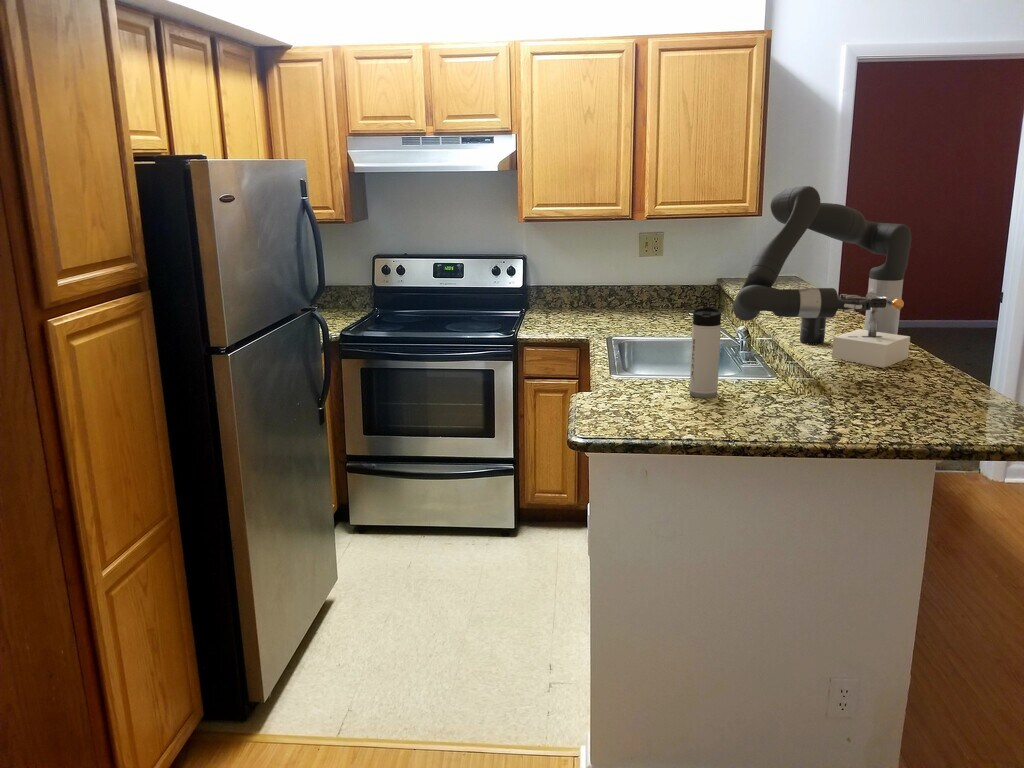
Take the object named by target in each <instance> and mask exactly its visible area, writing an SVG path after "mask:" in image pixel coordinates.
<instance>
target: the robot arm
mask: <svg viewBox="0 0 1024 768" xmlns="http://www.w3.org/2000/svg"><path fill="white" fill-rule="evenodd" d="M770 211H771V214H772V216H773V217H774V218H775V220H776V221H778V222H779V223H781V224H783V225H784V226H782V228H781V229H780V230H779V231H778V232H777V233H776V234H775V235H774V236H773V237H771V239H769V240H768V241H767V243H765V244H764V246H762V248H761V249H760V250H759V252H758V253H757V255H756V256H755V259H754V261H753V263H752V265H751V267H750V269H749V272H748V275H747V278H746V280H745V281H744V283H743V285H742V287H741V289H740V290H739V291H738V293H737V295H736V297H735V299H734V300H733V303H732V312H733V314H734V315H735V317H736V318H737V319H739V320H741V321H745V322H748V321H752V320H754V319H756V318H757V317H758V316H759V314H760V312H771V313H772V314H773V315H774V316H775V317H780V318H826V319H827V318H828V319H829V318H830V319H833V318H834V317H835V316H836V314H837V312H838V310H839V311H842V312H844V313H849V312H852V311H853V312H854V313H861V312H864V311H865V315H864V316H865V318H864V327H863V330H867V331H868V330H869V320H870V310H871V308H879V313H878V323H877V332H881V333H889V334H896V335H898V331H899V321H900V313H901V309H899V310H896V309H894V308H893V307H892V306H888V305H886V302H887V300H886V299H884V298H869V297H866V296H864V295H858V294H847V293H845V294H844V293H841V294H839V295H838V291H837V290H836V289H835V288H834V287H807V288H805V287H804V288H792V289H791V288H788V289H787V288H786V289H785V288H784V289H782V288H781V289H780V288H777V287H773V285H774V284H775V283H776V281H777V279H778V277H779V275H780V273H781V270H782V268H783V267H784V264H786V263H785V262H786V261H787V259H788V257H789V256H790V254H791V252H792V251H793V249H794V248H795V247H796V246H797V244H798V242H799V241H800V240H801V238H802V237H803V235H804V234H805V233H806V231H807V230H810V231H813V232H815V233H818V234H820V235H824V236H827V237H828V238H832V239H834V240H836V241H840V242H843V243H847V244H854V245H856V246H859V247H860V248H863V249H865V250H867V251H868V252H870V253H872V254H875V255H882V256H886V258H885V262H884V263H883V264H881V265H878V266H875V267H871V269H870V270H869V276H868V277H869V278H868V288H867V293H869V292H872V293H876V294H879V295H883V296H886V297H890V298H893V299H897V298H899V299H902V296H903V285H904V278H905V273H906V270H907V267H908V264H909V256H910V250H911V244H912V232H911V228H910V227H909V225H906V224H904V223H891V222H889V223H888V222H875V221H870V220H866V219H865V216H864V215H863V214H862V212H861V211H859V210H857V209H855V208H852V207H849V206H847V205H844V204H839V203H832V202H831V203H829V202H821V195H820V193H819V191H818V189H816V188H815V187H814V186H811V185H805V186H803V185H802V186H797V187H796V186H795V187H791V188H786V189H783V190H780V191H779V192H778V191H777V193H776V194H775V195H773V196H772V198H771V201H770Z"/></svg>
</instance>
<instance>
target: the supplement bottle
mask: <svg viewBox="0 0 1024 768" xmlns="http://www.w3.org/2000/svg"><path fill="white" fill-rule="evenodd" d="M800 318H801V321H800V330H799V331H800V332H799V342H800V341H801V342H800V343H802V342H803V343H802V344H805V343H808V344H807V345H822V344H824V343H825V337H826V327H827V318H802V317H800Z"/></svg>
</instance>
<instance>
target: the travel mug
mask: <svg viewBox="0 0 1024 768" xmlns="http://www.w3.org/2000/svg"><path fill="white" fill-rule="evenodd" d="M721 320H722V311H721V310H720V309H717V308H714V307H713V306H704V307H702V308H701V307H700V308H696V309H695V310H693V311H692V323H691V324H692V327H691V328H692V329H691V330H692V331H691V353H690V373H689V375H690V377H689V394H690V396H692V397H694V398H698V399H712V398H715V397H717V395H718V389H719V387H718V386H719V369H720V349H721V329H722V324H721V323H722V322H721Z"/></svg>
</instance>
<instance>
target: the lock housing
mask: <svg viewBox="0 0 1024 768" xmlns="http://www.w3.org/2000/svg"><path fill="white" fill-rule="evenodd" d="M832 342H833V343H832V344H833V345H832V354H831V359H832V358H837V359H843V360H847V361H852V362H851V363H853V362H856V363H855V364H858V363H861V364H860V365H864V364H866V365H865V366H872V367H875V368H877V367H878V368H882V369H886V368H887V367H889V366H893V365H895V364H897V363H900V362H903V361H905V360H907V359H908V358H909V351H910V343H911V336H908V335H903V334H902V335H901V334H897V335H896V334H889V333H881V332H876V336H868V331H867V330H864V329H860V328H859V329H855V330H852V331H849V332H846V333H842V334H838V335H836V336H833V341H832ZM847 361H846V362H847Z"/></svg>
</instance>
